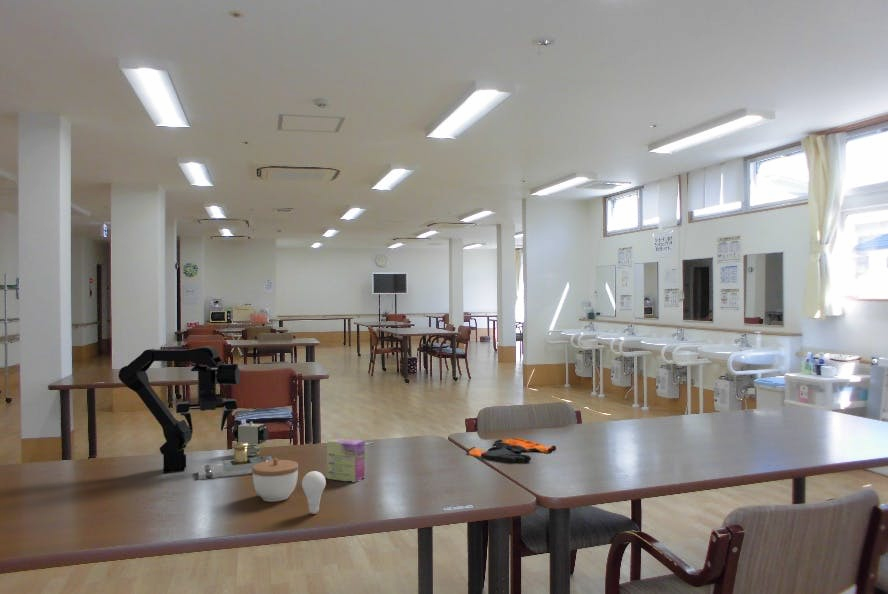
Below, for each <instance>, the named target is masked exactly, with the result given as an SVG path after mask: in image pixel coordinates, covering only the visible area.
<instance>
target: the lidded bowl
mask: <svg viewBox="0 0 888 594" xmlns="http://www.w3.org/2000/svg"><path fill="white" fill-rule="evenodd" d="M272 459H273V460H272V461H265V462H261V463H258V464H256V465H254V466H253V467H252V472H253V474H252V483H253V486H254V489H255V492H256V494H257V495H258V496H259V497H261V498H262V500H263V502H264V501H265V502H270V503H271V502H275V503H276V502H281V501H285V500H287V499H289V497H290V495H291V494H292V493H293V492H294V490H295V489H296V486H297V483H298V477H299V463H298V462H296V461H294V460H291V459H290V460H288V459H278V458H277V457H275V458H272Z"/></svg>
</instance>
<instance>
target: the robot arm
mask: <svg viewBox="0 0 888 594" xmlns="http://www.w3.org/2000/svg"><path fill="white" fill-rule="evenodd" d="M154 362H188V363H192V364H195V365H194V366H193V367H192V368H191V369H190V372H197V403H190V401H178V402H176V404H175V412H176V414H180V416H184V417H185V419H182V420H178V419H176V418H175V417H174V415H173V414H172V413H171V411H170V410H169V409H168V407H167V406H166V405H165V404H164V401H162V399H161V398H160V396H159V395H158V393H157V392H156V391H155V390H154V388H153V387H152V386H151V384H150V379H149V376H148V373H147V371H148V369H150V367H151V366H152V365H153V363H154ZM241 375H242V373H241V371H240V367H239V364H238V363H233V364H230V363H229V364H226V363H225V362H224V361H223V360H222V358H221V357H220V356H219V351H218V350H217V348H216V347H215V346H213V345H207V346H201V347H195V348H190V349H156V348H149V349H145V350H144V351H142V353H141V354H140V355H138V356H137V357H136V358H135V359H133V360H132V361H131V362H130V363H128V364H127V365H125V366H122V367H121V368H120V370H119V371H118V379H119V381H120V382H121V383H123V384H124V386H126V387H127V388H128V389H130V390H131V391H133V392H135V393H136V394H137V396H138V397H139V398H140V399H141V400H142V403H143V404H144V406H146V408H147V409H148V410H149V412H150V413H151V414H152V416H153V417H154V418H155V420H156V421H157V423H158V424H159V425H160V427H161V429H162V432H163V437H164V440H165V442H164V443H163V444H162V445H161V446H160V447H159V451H160V454H161V455H162V456H163V459H162V460H163V465H162V466H163V467H162V473H163V474H167V473H176V472H178V473H179V472H184V471H185V470H186V468H187V453H185V449H186V448H187V445H188V444H189V443H190V442H191V441H192V438H193V437H192V436H193V433H194V432H193V431H194V430H193V429H194V427H193V423H192V416H191V410H200V411H201V412H202V411H203V412H204V411H215V410H217V409H218V408H222V412H221V422H220V432H223V431H224V427H225V423H226V421H227V419H228V416H229V414H230V413H233V412H234V410H237V409H238V401H237V399H235V398H224V399H223V393H218V394H217V383H219V384H220V385H239V384H240V381H241Z"/></svg>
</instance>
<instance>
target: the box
mask: <svg viewBox="0 0 888 594" xmlns="http://www.w3.org/2000/svg"><path fill="white" fill-rule="evenodd" d="M326 443H327V445H326V447H327V450H326V451H327V452H326V455H327V456H326V457H327V458H326V459H327V460H326V472H327V473H326V479H327V480H336V481H342V482H347V481H352V482H351V483H353V482H356V481H358V480H360V479H362V478H364V477H365V476H366V475H365V472H366V471H365V468H366V467H365V464H366V463H365V459H366V454H365V453H366V452H365V451H366V446H365V445H366V444H365V440H357V439H348V438H342V437H341V438H340V437H337V438H334V439H330V440H327V442H326ZM364 479H365V478H364ZM362 480H363V479H362ZM360 481H361V480H360ZM358 482H359V481H358ZM356 483H357V482H356Z"/></svg>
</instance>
